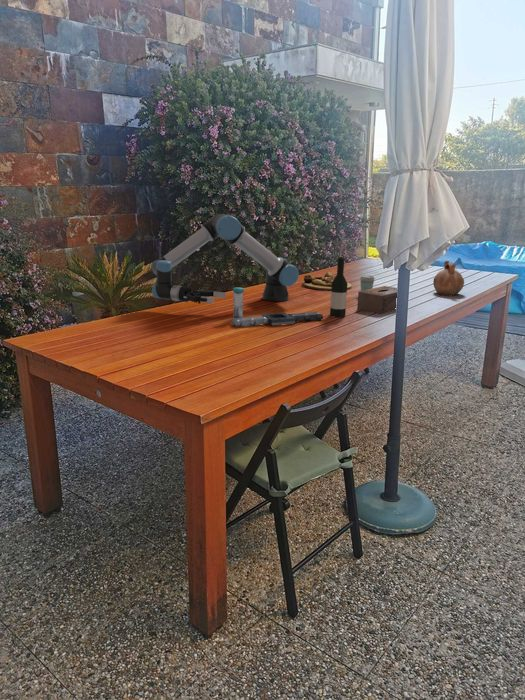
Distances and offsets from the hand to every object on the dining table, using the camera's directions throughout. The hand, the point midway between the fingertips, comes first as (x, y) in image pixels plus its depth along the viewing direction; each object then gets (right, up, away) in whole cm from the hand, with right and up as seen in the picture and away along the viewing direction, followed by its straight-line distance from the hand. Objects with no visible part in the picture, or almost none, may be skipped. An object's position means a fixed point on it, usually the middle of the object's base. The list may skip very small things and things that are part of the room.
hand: (219, 297), depth 275 cm
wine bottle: (+59, -8, +12) cm, 61 cm away
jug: (+136, +9, +74) cm, 155 cm away
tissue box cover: (+86, -3, +30) cm, 91 cm away
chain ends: (+29, -12, -5) cm, 31 cm away
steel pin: (+9, -10, 0) cm, 14 cm away
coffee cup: (+83, +6, +61) cm, 103 cm away
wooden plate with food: (+63, +15, +90) cm, 111 cm away
